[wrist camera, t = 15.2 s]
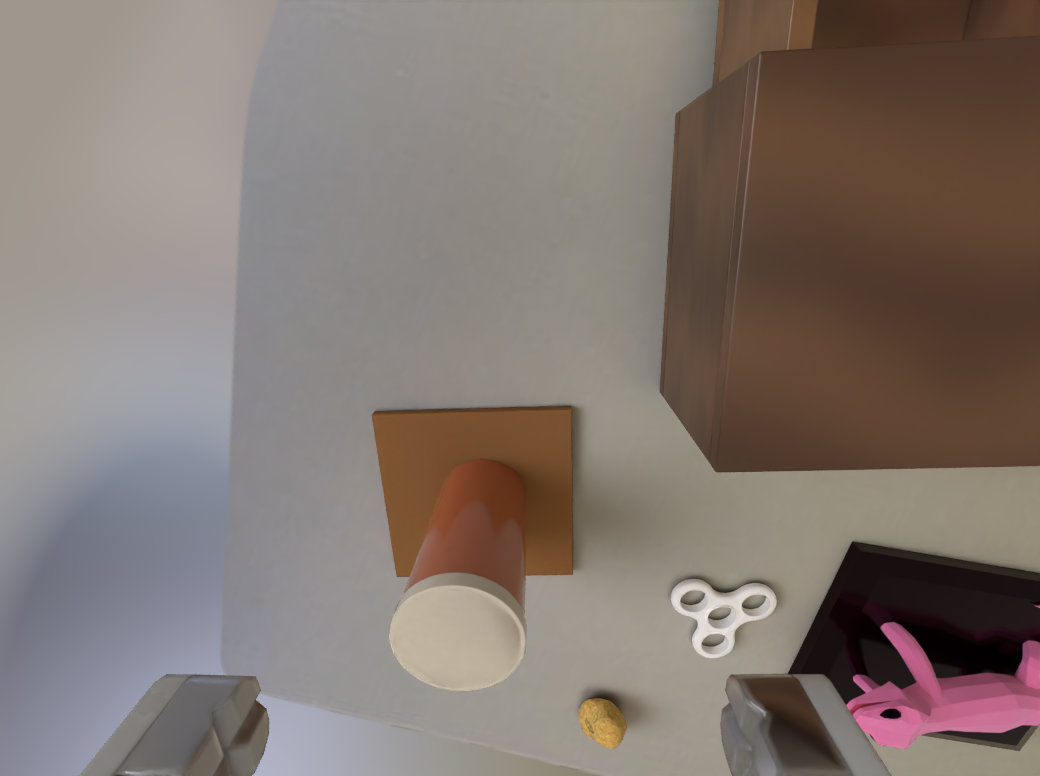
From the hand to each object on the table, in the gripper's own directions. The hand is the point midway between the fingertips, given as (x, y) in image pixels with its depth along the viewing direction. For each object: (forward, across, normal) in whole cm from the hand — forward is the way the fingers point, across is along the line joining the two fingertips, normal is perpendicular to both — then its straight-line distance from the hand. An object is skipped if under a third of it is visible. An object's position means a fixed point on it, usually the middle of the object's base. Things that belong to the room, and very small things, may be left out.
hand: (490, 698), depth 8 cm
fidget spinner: (+21, -13, +19) cm, 31 cm away
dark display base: (+21, -28, +22) cm, 41 cm away
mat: (+21, +3, +9) cm, 23 cm away
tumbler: (+20, +2, +9) cm, 23 cm away
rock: (+21, -5, +28) cm, 35 cm away
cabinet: (+21, -15, -5) cm, 26 cm away
